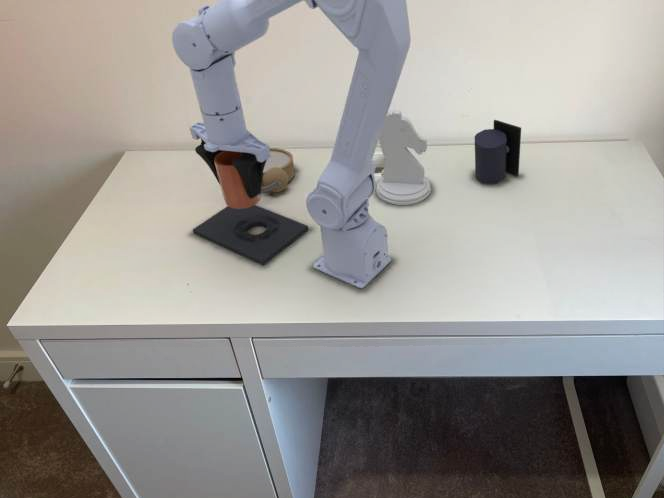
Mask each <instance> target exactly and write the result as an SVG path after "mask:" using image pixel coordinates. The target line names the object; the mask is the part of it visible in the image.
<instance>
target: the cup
mask: <svg viewBox="0 0 664 498" xmlns="http://www.w3.org/2000/svg"><path fill="white" fill-rule="evenodd" d="M240 156H242V152H234V151H222V152H220V153H218V154H217V155H216V156H215V158H214V163H215V166H216V170H217V174H218V178H219V182H220V184H219V186H220V185H221V186H220V189H221V193H222V197H223V200H224V203H225V205H226V207H227V206H228V207H230V208H234V209H245V208H249V207H251V206H254V205H257V204H258V203H259V202H260V200H261V199H262V198H261V197H262V196H261V193H260V194H259V195H257V196H256V197H254V198H249V197H248V195H247V193H246V190H245V187H244V183H243V180H242V178H241V176H240V174H239V172H238V171H237V169H236V168H235V167H234V166H233V165H232V161H234V160H235V159H237V158H239V157H240Z"/></svg>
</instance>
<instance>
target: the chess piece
mask: <svg viewBox="0 0 664 498" xmlns="http://www.w3.org/2000/svg"><path fill="white" fill-rule="evenodd" d="M427 141H428V140H427V138H425V137H422V136H421V135H420V134H419V133H418V132H417V130H416V128H415V127H414V125H413V123H412V122H411V120H410V119H409V118H408V117H406V116H403V115H402V112H401V110H396V109H393V111H388V113H387V116H386V119H385V122H384V125H383V128H382V131H381V134H380V137H379V140H378V144H379V145H380V146H379V147H380V150H381V152H382V155H383V157H384V161H385V164H384V168H383V169H382V170H381V173H380V176H381V178H379V180H378V182H377V184H376V187H375V191H376V195H377V196H378V198H379V199H380V200H382V201H383V202H385V203H388V204H391V205H397V206H410V205H414V204H417V203H420V202H422V201H424V200H426V199H427V198H428V197H429V196H430V194H431V191H432V190H431V183H430V181H429V179H428V178H427V177H426V176H425V168H424V166H423V165H422V164H421V163H420V162H419V161H420V160H418V159H417V158H416V157H415V155H414V154H413V153H412V152H411V151H410V150H409V149H412V150H414V152H415V153H416V154H417V155H419V156H421V155H423V153H426V151H427V148H428V143H427Z"/></svg>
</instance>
